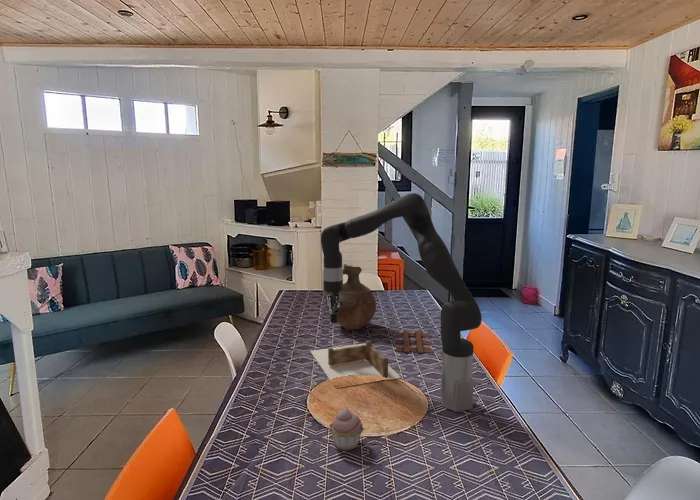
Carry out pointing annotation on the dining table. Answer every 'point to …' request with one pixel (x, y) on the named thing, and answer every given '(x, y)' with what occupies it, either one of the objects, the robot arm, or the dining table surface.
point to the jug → (355, 301)
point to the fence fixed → (376, 359)
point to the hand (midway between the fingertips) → (333, 322)
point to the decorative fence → (413, 342)
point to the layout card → (348, 366)
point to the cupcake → (346, 430)
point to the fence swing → (346, 355)
